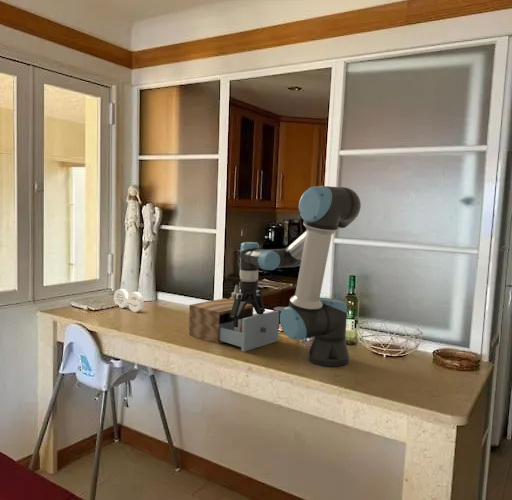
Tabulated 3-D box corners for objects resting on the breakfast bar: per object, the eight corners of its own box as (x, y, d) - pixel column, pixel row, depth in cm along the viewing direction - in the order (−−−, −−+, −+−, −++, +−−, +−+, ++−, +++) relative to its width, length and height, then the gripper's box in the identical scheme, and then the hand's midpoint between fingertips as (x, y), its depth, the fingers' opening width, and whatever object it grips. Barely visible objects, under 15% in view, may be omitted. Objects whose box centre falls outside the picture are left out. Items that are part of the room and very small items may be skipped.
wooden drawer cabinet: (252, 334, 210) (253, 304, 209) (217, 344, 195) (218, 312, 194) (223, 326, 222) (224, 298, 221) (189, 334, 207) (189, 304, 205)
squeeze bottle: (247, 322, 232) (248, 285, 230) (237, 325, 225) (238, 287, 223) (234, 319, 236) (235, 283, 234) (224, 322, 229) (224, 285, 228)
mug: (279, 334, 211) (280, 312, 210) (265, 331, 216) (266, 309, 215) (293, 330, 219) (294, 309, 218) (280, 327, 224) (281, 306, 223)
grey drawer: (280, 341, 200) (281, 311, 199) (246, 352, 184) (247, 320, 183) (246, 332, 213) (246, 303, 212) (211, 341, 197) (211, 311, 196)
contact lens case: (113, 306, 256) (113, 288, 255) (117, 305, 258) (117, 287, 257) (140, 313, 243) (140, 293, 242) (143, 312, 244) (143, 293, 243)
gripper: (261, 275, 207) (259, 325, 209) (221, 281, 189) (220, 335, 192) (274, 278, 202) (272, 328, 204) (235, 284, 184) (233, 339, 187)
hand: (247, 331), depth 198 cm, fingers open, 11 cm apart
